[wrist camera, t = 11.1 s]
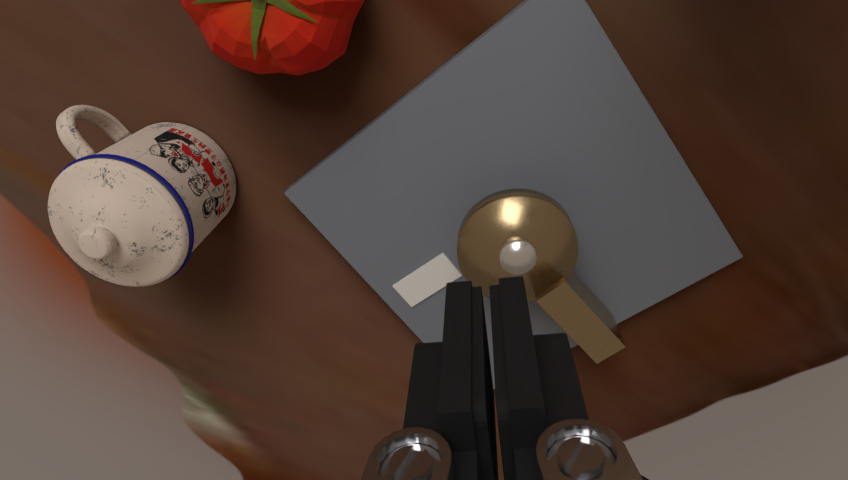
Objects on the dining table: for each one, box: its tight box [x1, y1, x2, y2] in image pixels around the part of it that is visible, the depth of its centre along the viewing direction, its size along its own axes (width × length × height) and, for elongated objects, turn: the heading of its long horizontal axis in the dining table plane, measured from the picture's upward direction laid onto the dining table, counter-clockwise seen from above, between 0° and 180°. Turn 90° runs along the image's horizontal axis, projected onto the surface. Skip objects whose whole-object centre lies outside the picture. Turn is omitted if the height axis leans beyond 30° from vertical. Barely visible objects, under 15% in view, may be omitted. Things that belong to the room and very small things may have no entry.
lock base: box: [284, 0, 743, 390], centre depth 41 cm, size 24×24×4 cm
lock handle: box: [457, 189, 626, 364], centre depth 40 cm, size 14×8×4 cm, turn 43°
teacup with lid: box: [48, 105, 236, 287], centre depth 38 cm, size 12×9×12 cm
